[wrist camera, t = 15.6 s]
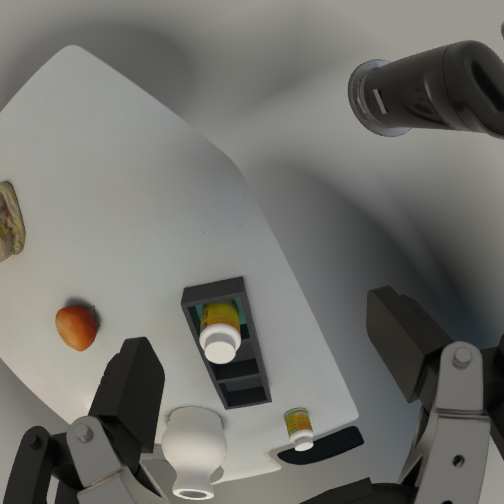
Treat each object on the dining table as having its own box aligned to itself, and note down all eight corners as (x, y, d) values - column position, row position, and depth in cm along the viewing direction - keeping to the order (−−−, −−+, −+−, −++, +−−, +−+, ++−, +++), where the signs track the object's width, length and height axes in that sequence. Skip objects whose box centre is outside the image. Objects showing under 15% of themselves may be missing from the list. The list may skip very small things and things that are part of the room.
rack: (242, 276, 42) (244, 291, 38) (269, 385, 52) (272, 402, 48) (184, 288, 42) (180, 303, 38) (224, 393, 52) (225, 409, 48)
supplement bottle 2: (289, 407, 56) (297, 441, 47) (310, 407, 57) (320, 440, 48) (281, 419, 58) (288, 452, 49) (301, 420, 58) (310, 451, 50)
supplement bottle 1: (204, 291, 42) (199, 334, 32) (240, 296, 43) (245, 339, 33) (200, 321, 44) (196, 365, 34) (235, 325, 45) (238, 370, 35)
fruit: (115, 337, 43) (83, 364, 36) (92, 326, 46) (63, 348, 40) (98, 298, 40) (61, 324, 33) (76, 290, 43) (44, 311, 37)
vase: (238, 418, 56) (245, 494, 37) (203, 440, 59) (204, 506, 41) (185, 395, 51) (178, 479, 33) (154, 420, 55) (144, 491, 36)
